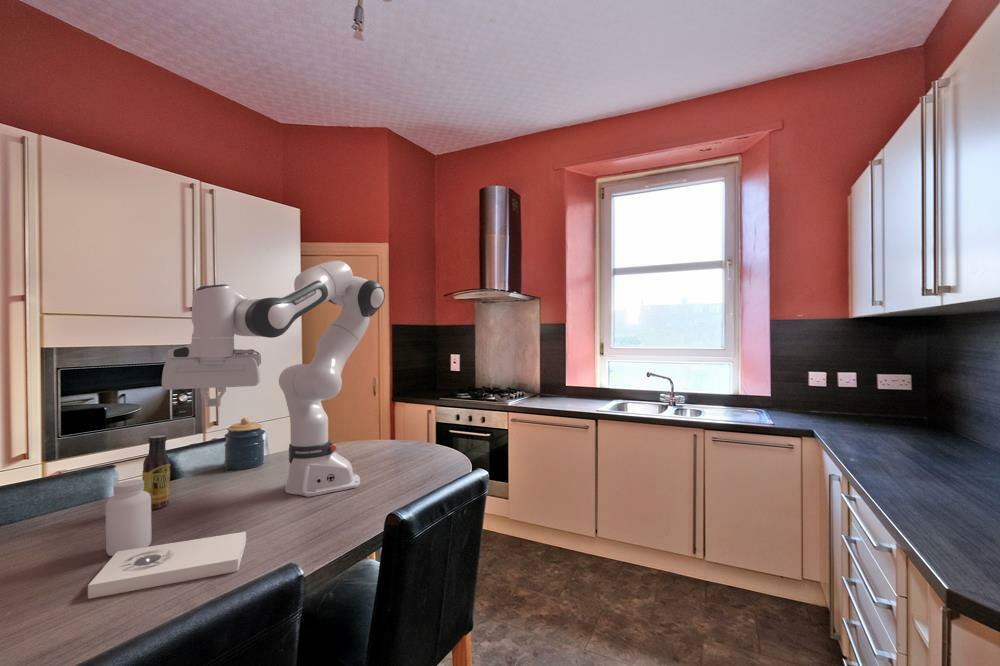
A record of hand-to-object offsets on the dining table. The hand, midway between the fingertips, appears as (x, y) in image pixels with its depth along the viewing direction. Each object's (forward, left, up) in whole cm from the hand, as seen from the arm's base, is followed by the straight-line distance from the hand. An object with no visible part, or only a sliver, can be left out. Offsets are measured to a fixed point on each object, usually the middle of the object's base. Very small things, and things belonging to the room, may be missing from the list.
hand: (213, 406), depth 110 cm
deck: (+4, +16, -31) cm, 35 cm away
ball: (+10, +16, -30) cm, 35 cm away
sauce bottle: (+18, -26, -31) cm, 45 cm away
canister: (0, -62, -31) cm, 70 cm away
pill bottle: (+16, +2, -31) cm, 35 cm away
